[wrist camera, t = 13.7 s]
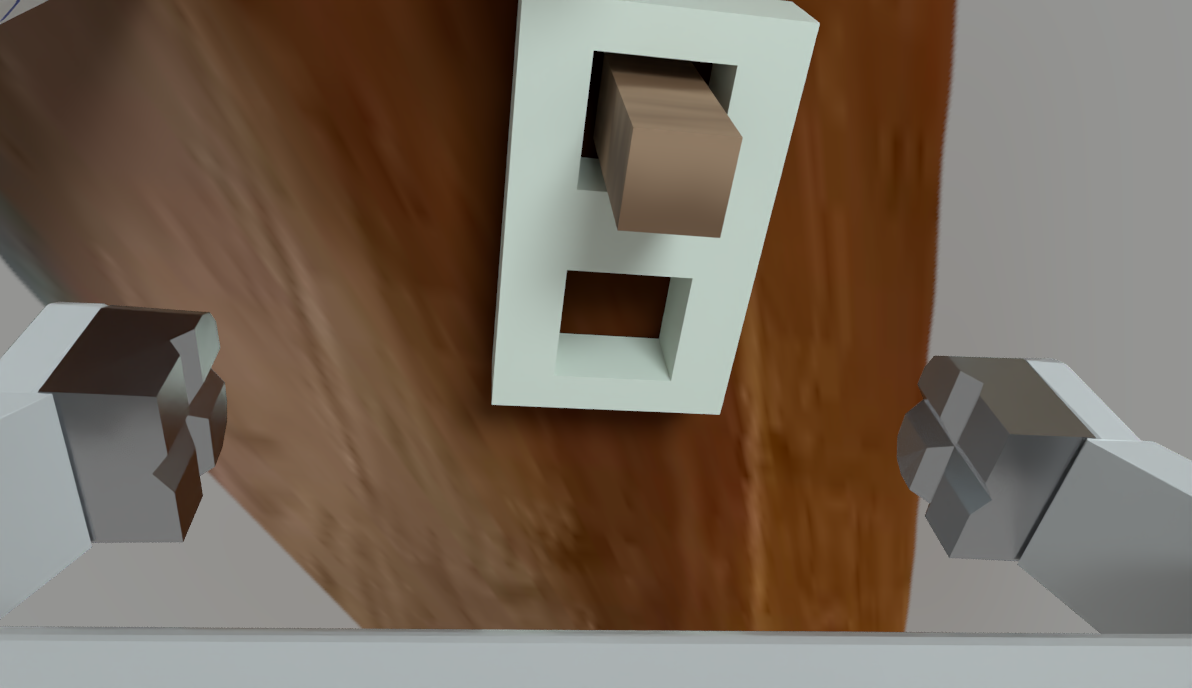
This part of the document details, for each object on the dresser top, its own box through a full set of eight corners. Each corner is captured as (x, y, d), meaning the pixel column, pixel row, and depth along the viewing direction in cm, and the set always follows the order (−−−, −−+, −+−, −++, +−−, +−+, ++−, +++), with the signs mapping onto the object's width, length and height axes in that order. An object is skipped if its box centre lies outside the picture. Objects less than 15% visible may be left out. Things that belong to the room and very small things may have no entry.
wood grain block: (604, 51, 39) (633, 127, 30) (690, 61, 39) (743, 137, 31) (593, 137, 41) (617, 230, 32) (675, 145, 41) (720, 238, 33)
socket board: (520, -31, 36) (522, -11, 33) (791, 1, 38) (819, 23, 35) (492, 360, 47) (491, 404, 44) (704, 371, 49) (719, 414, 45)
